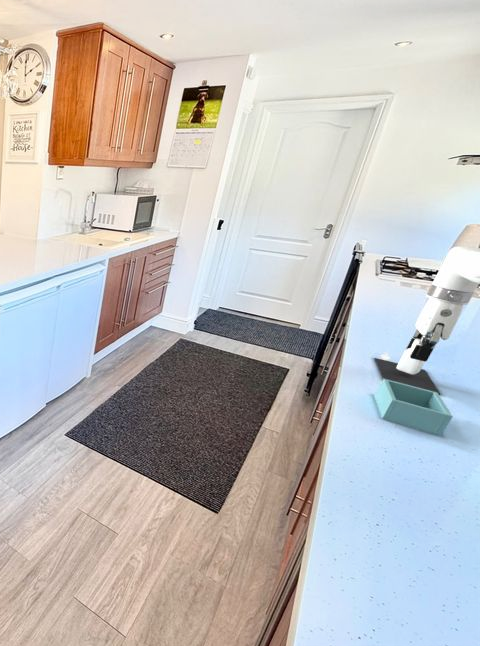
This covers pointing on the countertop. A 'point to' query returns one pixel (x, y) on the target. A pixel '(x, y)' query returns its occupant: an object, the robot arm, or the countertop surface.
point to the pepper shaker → (410, 361)
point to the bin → (412, 407)
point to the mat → (405, 376)
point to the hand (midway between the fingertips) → (415, 355)
